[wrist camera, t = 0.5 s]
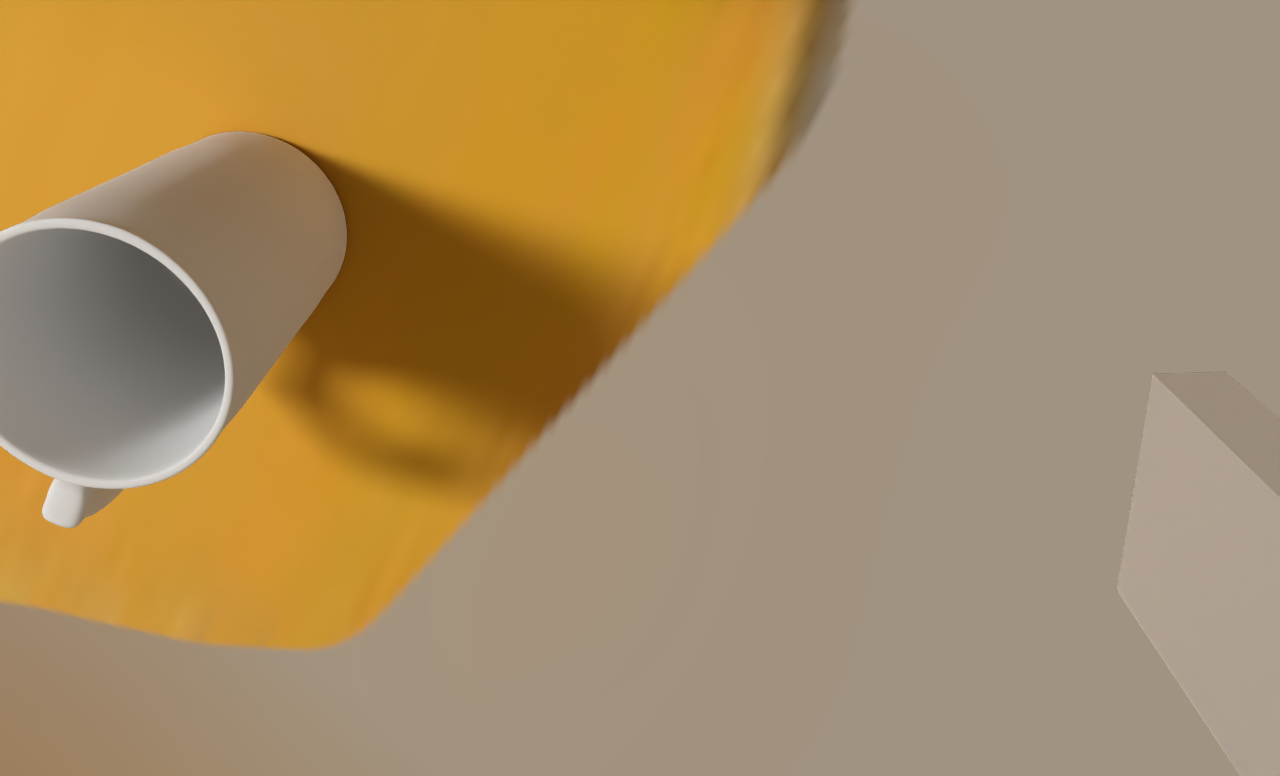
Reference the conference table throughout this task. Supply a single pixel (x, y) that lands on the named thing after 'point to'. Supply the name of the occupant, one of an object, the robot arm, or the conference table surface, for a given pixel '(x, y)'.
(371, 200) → the conference table surface
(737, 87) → the conference table surface
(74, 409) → the mug
